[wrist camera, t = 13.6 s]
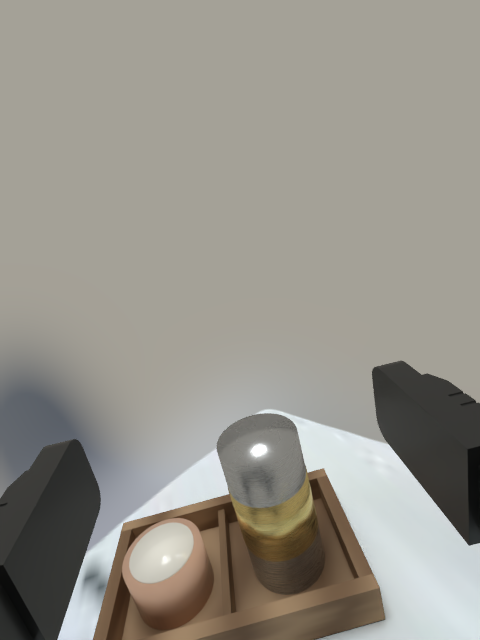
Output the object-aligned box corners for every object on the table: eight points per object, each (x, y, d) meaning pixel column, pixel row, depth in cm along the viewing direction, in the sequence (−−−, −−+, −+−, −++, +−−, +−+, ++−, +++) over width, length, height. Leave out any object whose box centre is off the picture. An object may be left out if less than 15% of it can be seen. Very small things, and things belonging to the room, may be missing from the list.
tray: (100, 699, 25) (84, 670, 24) (133, 546, 36) (123, 523, 36) (385, 619, 25) (379, 587, 24) (328, 492, 37) (323, 468, 36)
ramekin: (131, 640, 27) (112, 601, 26) (145, 563, 34) (130, 528, 32) (215, 617, 28) (200, 576, 26) (213, 544, 34) (200, 508, 33)
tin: (258, 605, 28) (217, 477, 24) (248, 536, 33) (214, 425, 30) (336, 582, 28) (308, 452, 24) (312, 518, 34) (287, 405, 30)
